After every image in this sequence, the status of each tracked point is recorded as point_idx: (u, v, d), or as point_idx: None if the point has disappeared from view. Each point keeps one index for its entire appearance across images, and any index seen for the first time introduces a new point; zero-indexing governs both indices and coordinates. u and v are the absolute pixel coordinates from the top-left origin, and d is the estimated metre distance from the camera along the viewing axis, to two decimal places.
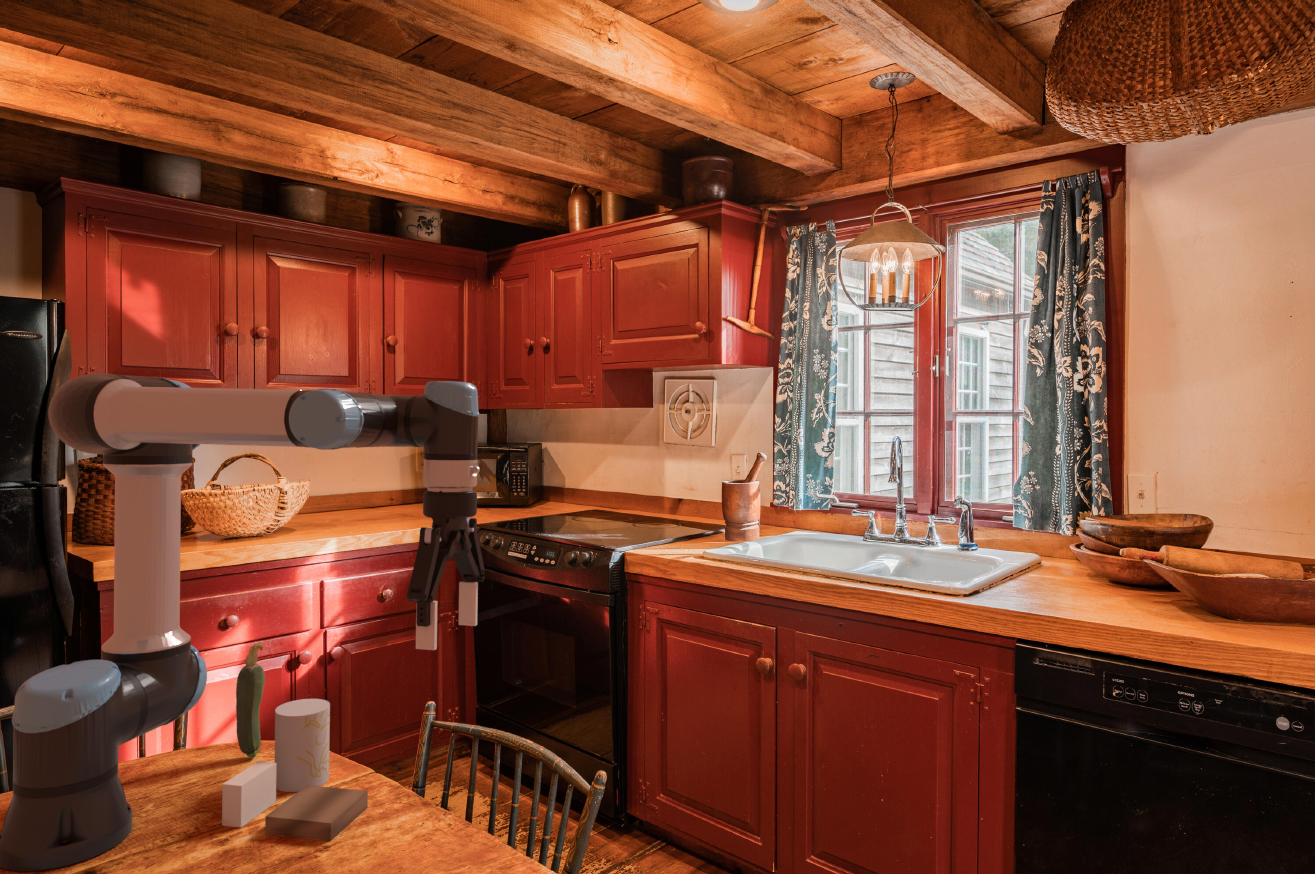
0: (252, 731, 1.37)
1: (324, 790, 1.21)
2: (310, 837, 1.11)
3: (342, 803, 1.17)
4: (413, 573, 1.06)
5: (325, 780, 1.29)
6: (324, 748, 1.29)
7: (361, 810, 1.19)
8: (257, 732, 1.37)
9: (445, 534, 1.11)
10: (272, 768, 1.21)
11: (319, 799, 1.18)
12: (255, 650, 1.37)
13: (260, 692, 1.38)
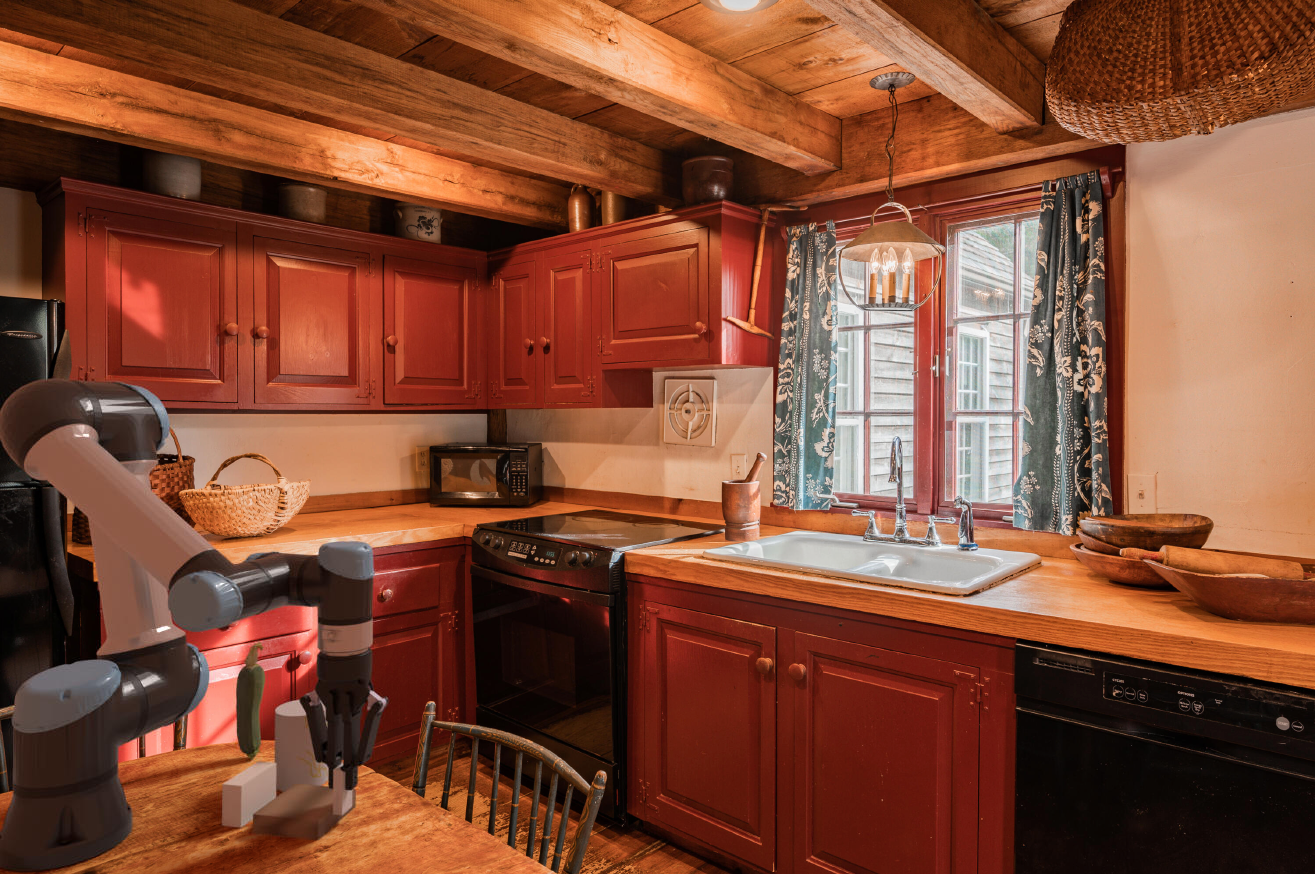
0: (252, 731, 1.37)
1: (312, 788, 1.21)
2: (297, 835, 1.12)
3: (330, 801, 1.17)
4: None
5: (325, 780, 1.29)
6: None
7: None
8: (257, 732, 1.37)
9: (318, 693, 1.15)
10: (272, 768, 1.21)
11: (307, 797, 1.18)
12: (255, 650, 1.37)
13: (260, 692, 1.38)
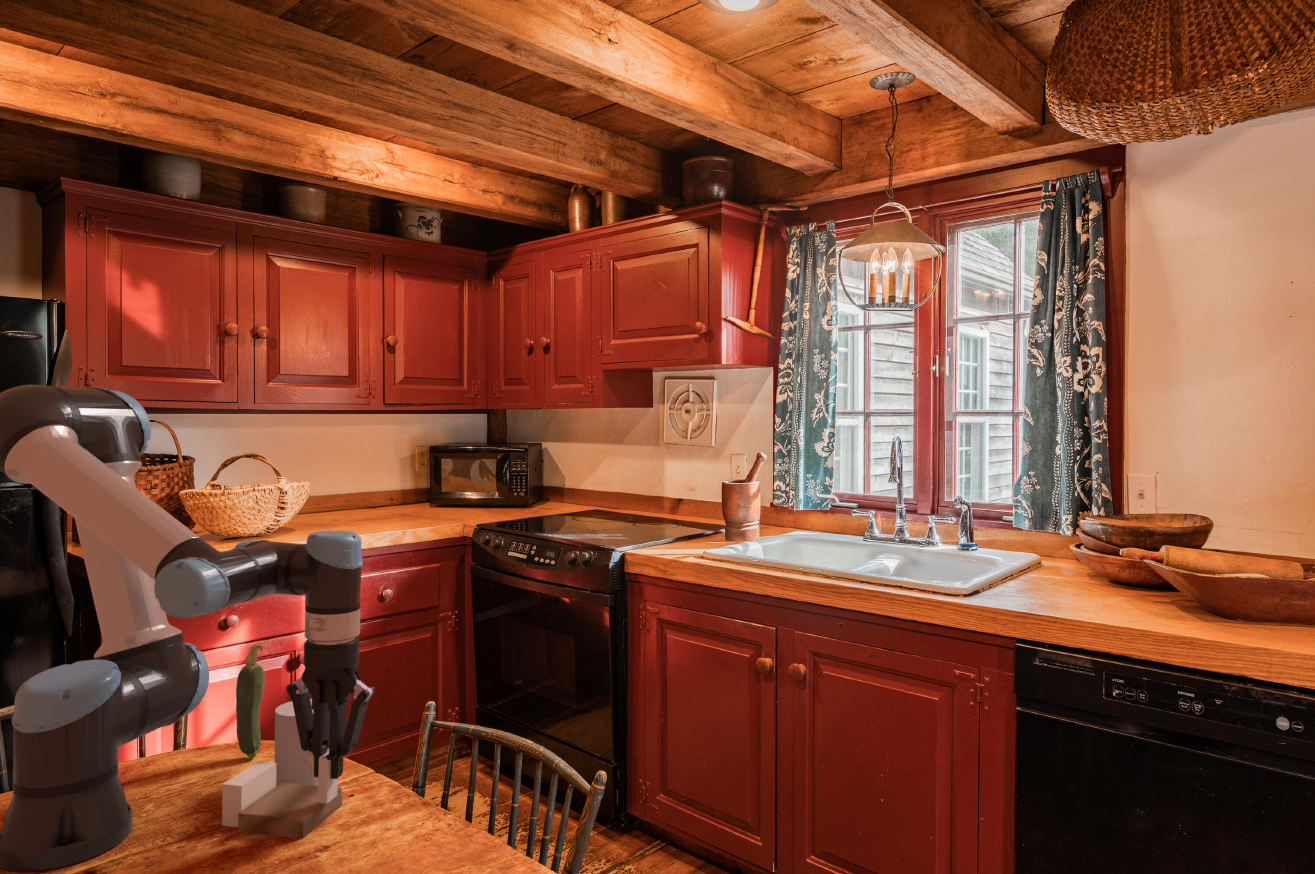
0: (252, 731, 1.37)
1: (299, 787, 1.21)
2: (282, 834, 1.12)
3: (316, 800, 1.17)
4: None
5: None
6: None
7: (335, 807, 1.20)
8: (257, 732, 1.37)
9: (305, 681, 1.16)
10: (272, 768, 1.21)
11: (293, 796, 1.18)
12: (255, 650, 1.37)
13: (260, 692, 1.38)
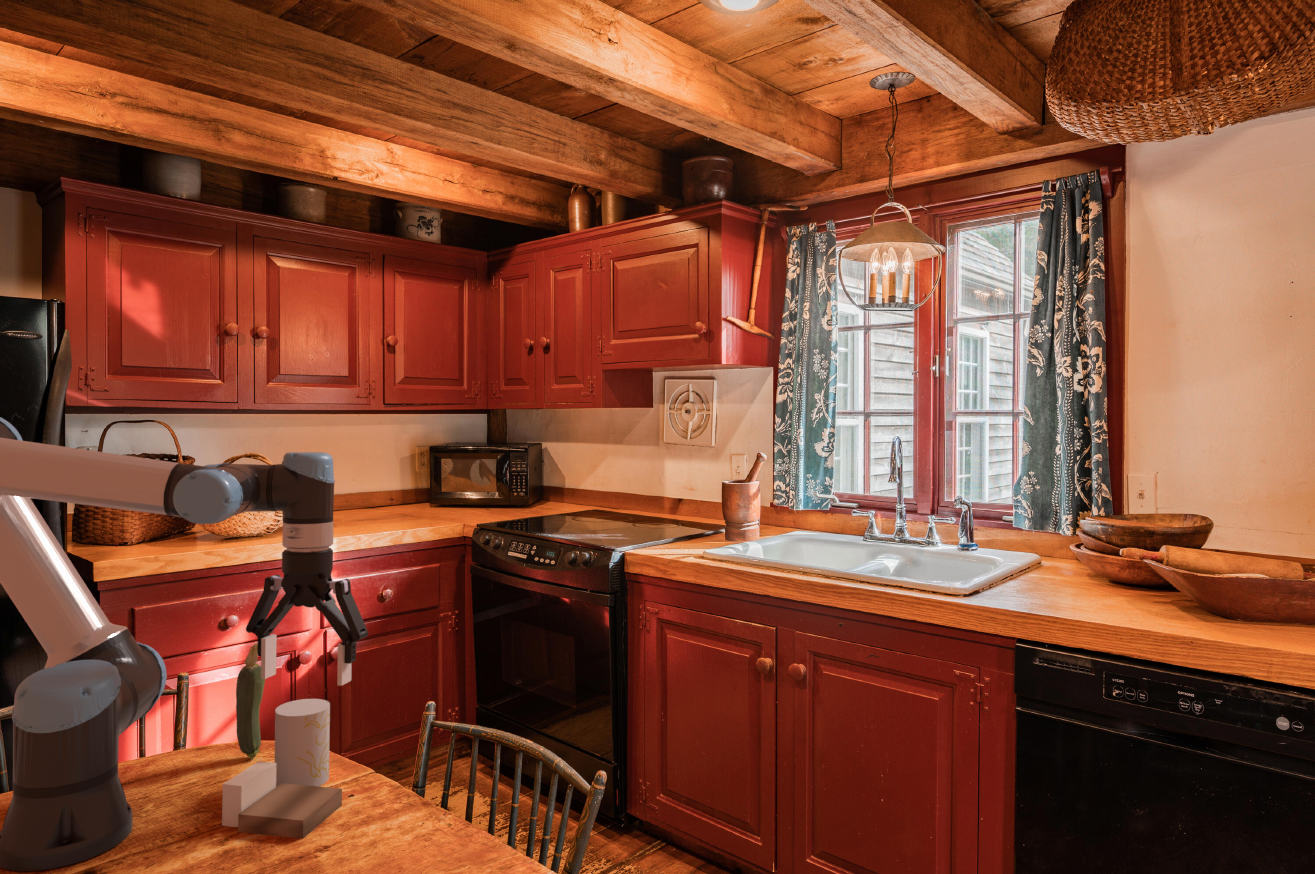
0: (252, 731, 1.37)
1: (298, 788, 1.21)
2: (283, 834, 1.12)
3: (316, 801, 1.17)
4: None
5: (325, 780, 1.29)
6: (324, 748, 1.29)
7: (335, 808, 1.20)
8: (257, 732, 1.37)
9: (282, 585, 1.28)
10: (272, 768, 1.21)
11: (293, 797, 1.18)
12: (255, 650, 1.37)
13: (260, 692, 1.38)
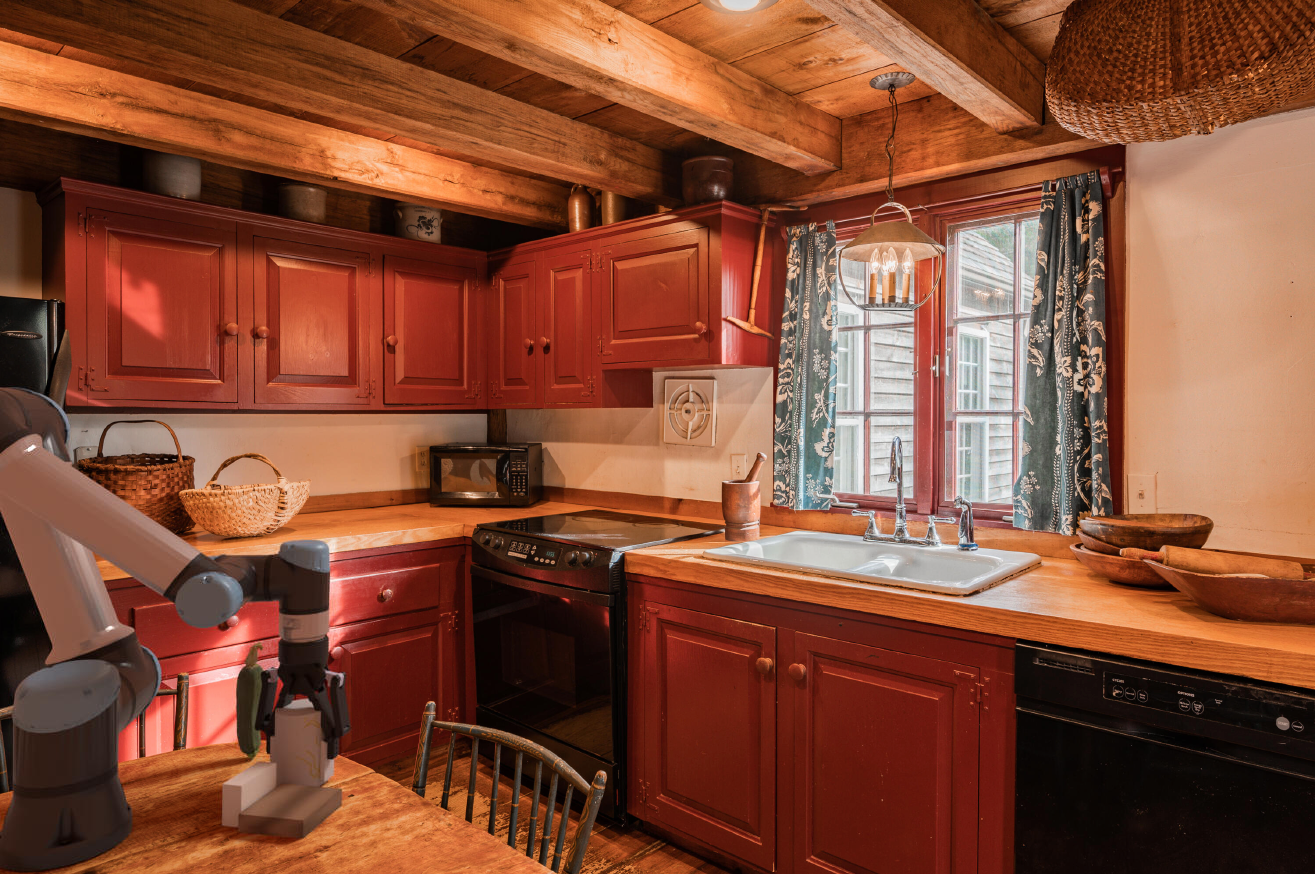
0: (252, 731, 1.37)
1: (298, 788, 1.21)
2: (283, 834, 1.12)
3: (316, 800, 1.17)
4: None
5: None
6: None
7: (335, 808, 1.20)
8: (257, 732, 1.37)
9: (279, 674, 1.29)
10: (272, 768, 1.21)
11: (293, 796, 1.18)
12: (255, 650, 1.37)
13: (260, 692, 1.38)
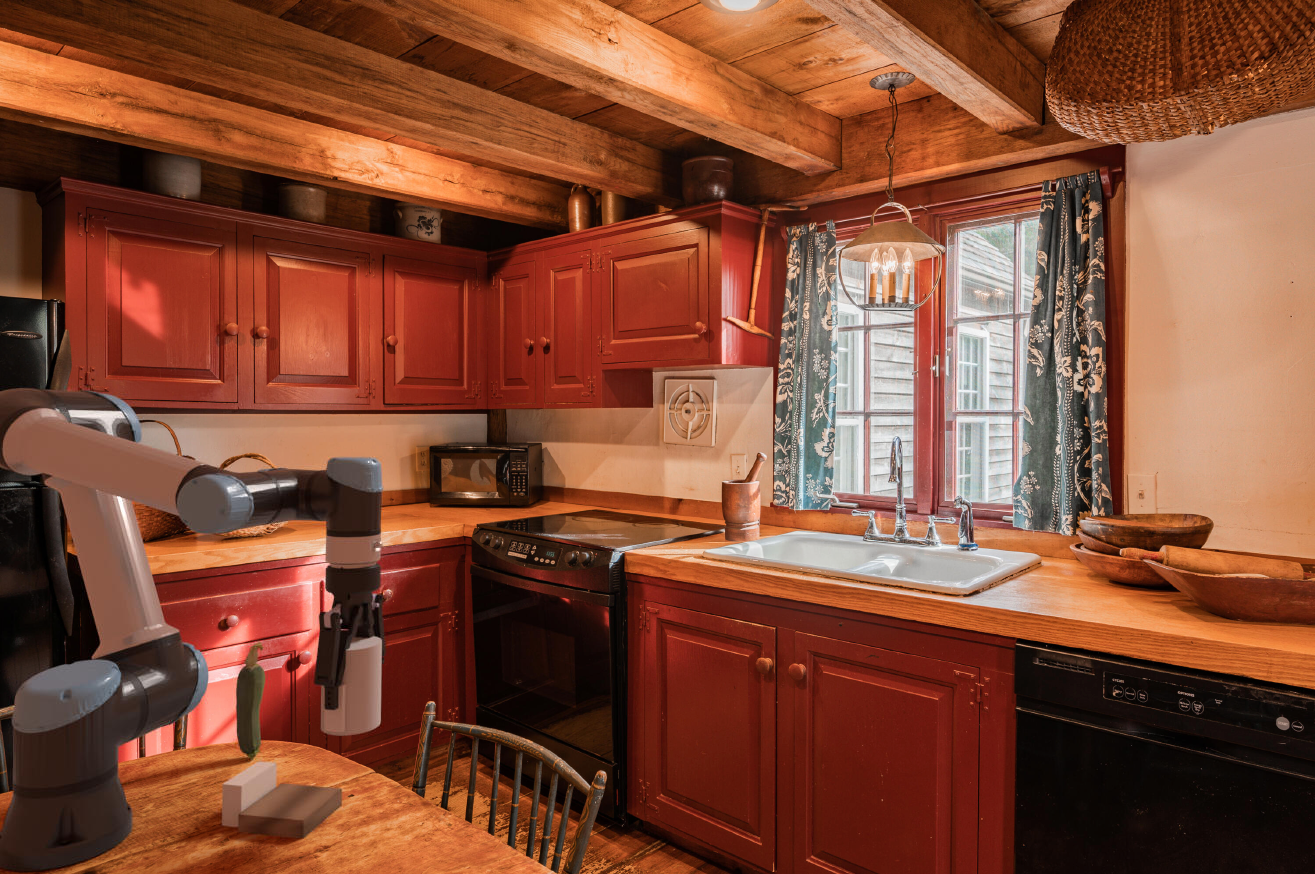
0: (252, 731, 1.37)
1: (298, 788, 1.21)
2: (283, 834, 1.12)
3: (316, 800, 1.17)
4: (317, 660, 1.09)
5: None
6: None
7: (335, 808, 1.20)
8: (257, 732, 1.37)
9: (346, 611, 1.12)
10: (272, 768, 1.21)
11: (293, 797, 1.18)
12: (255, 650, 1.37)
13: (260, 692, 1.38)
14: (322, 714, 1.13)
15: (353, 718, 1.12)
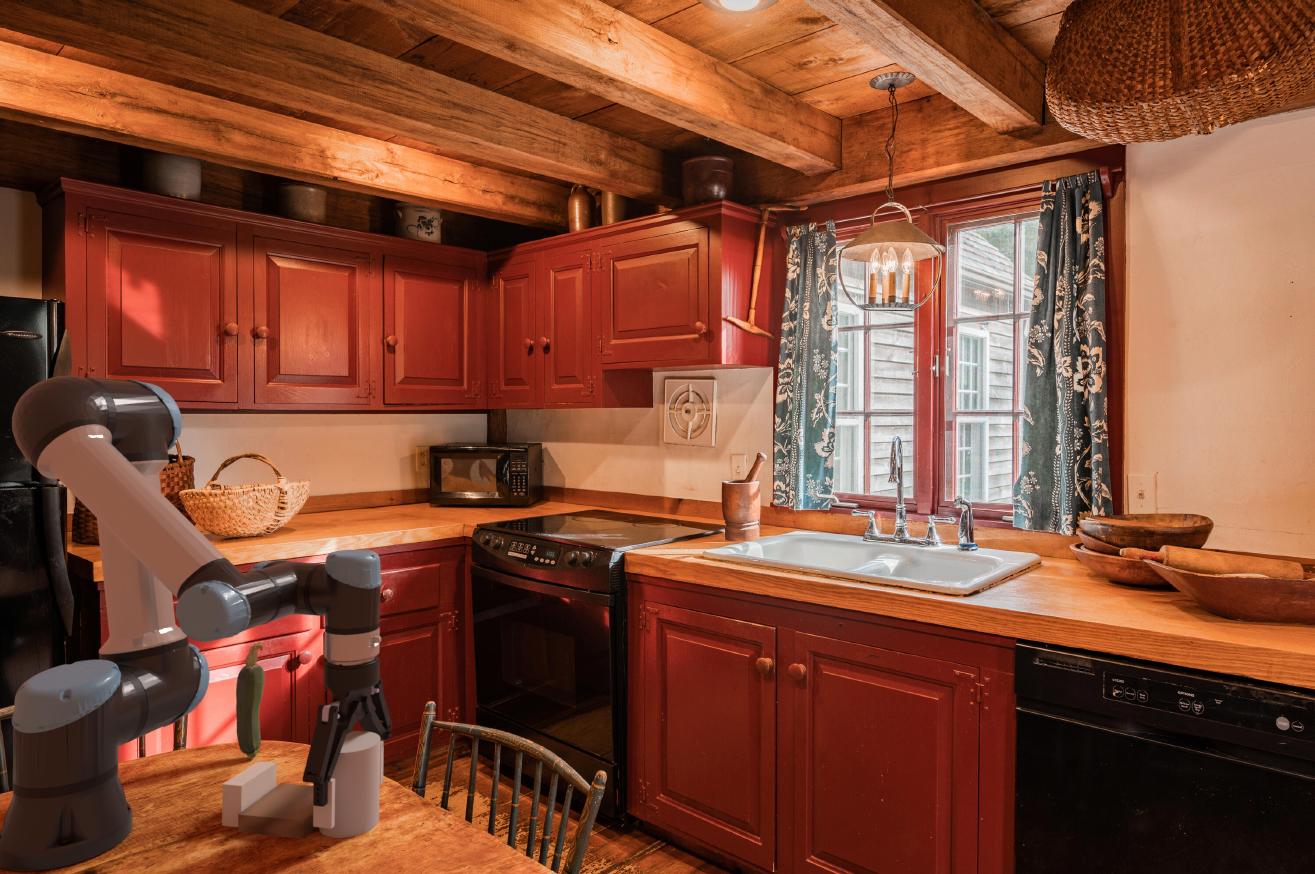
0: (252, 731, 1.37)
1: (298, 788, 1.21)
2: (283, 834, 1.12)
3: None
4: (309, 754, 1.07)
5: None
6: None
7: None
8: (257, 732, 1.37)
9: (344, 708, 1.12)
10: (272, 768, 1.21)
11: (293, 796, 1.18)
12: (255, 650, 1.37)
13: (260, 692, 1.38)
14: None
15: (351, 820, 1.12)
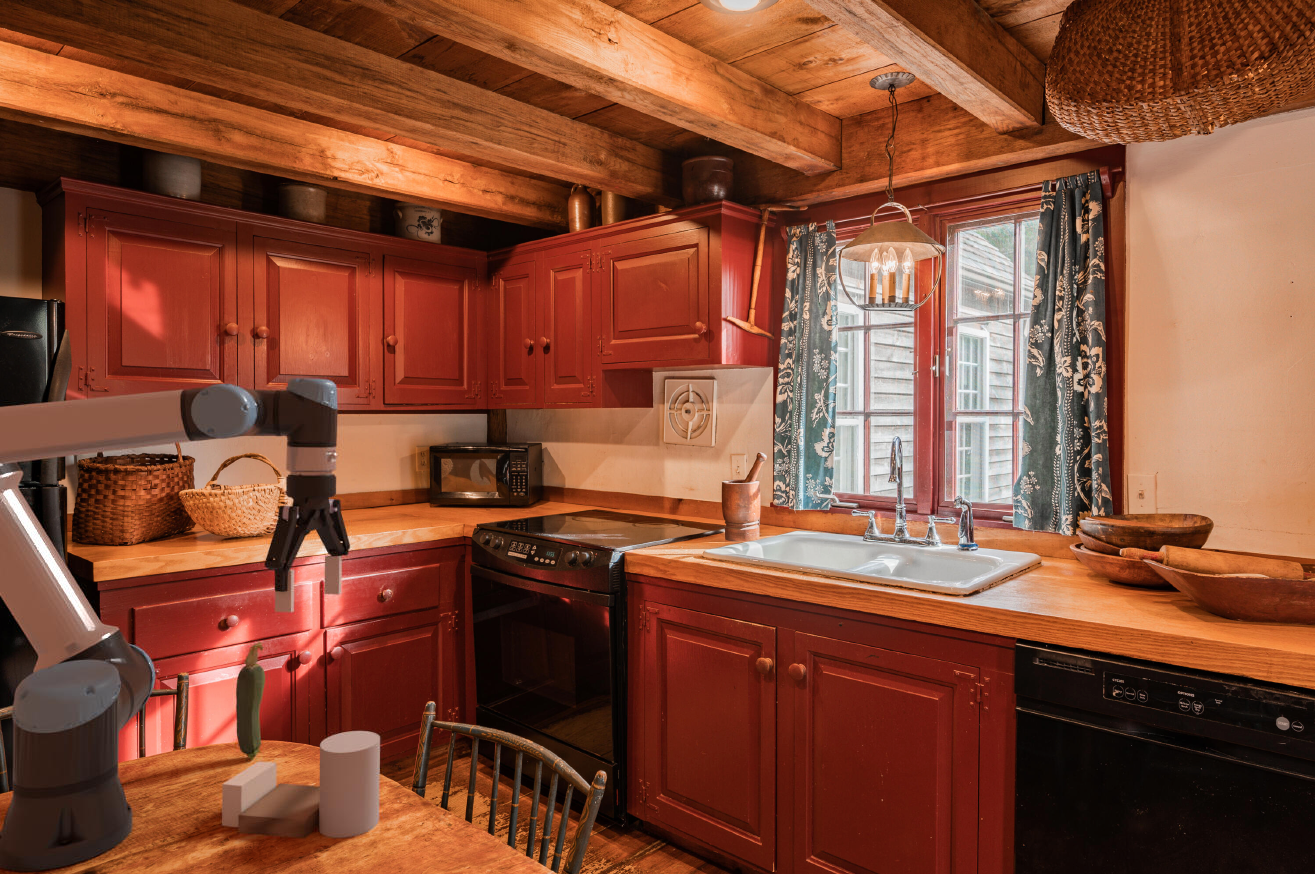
0: (252, 731, 1.37)
1: (297, 788, 1.21)
2: (284, 834, 1.12)
3: (316, 800, 1.17)
4: (271, 545, 1.22)
5: None
6: None
7: None
8: (257, 732, 1.37)
9: (303, 512, 1.27)
10: (272, 768, 1.21)
11: (293, 796, 1.18)
12: (255, 650, 1.37)
13: (260, 692, 1.38)
14: (320, 815, 1.13)
15: (351, 820, 1.12)
